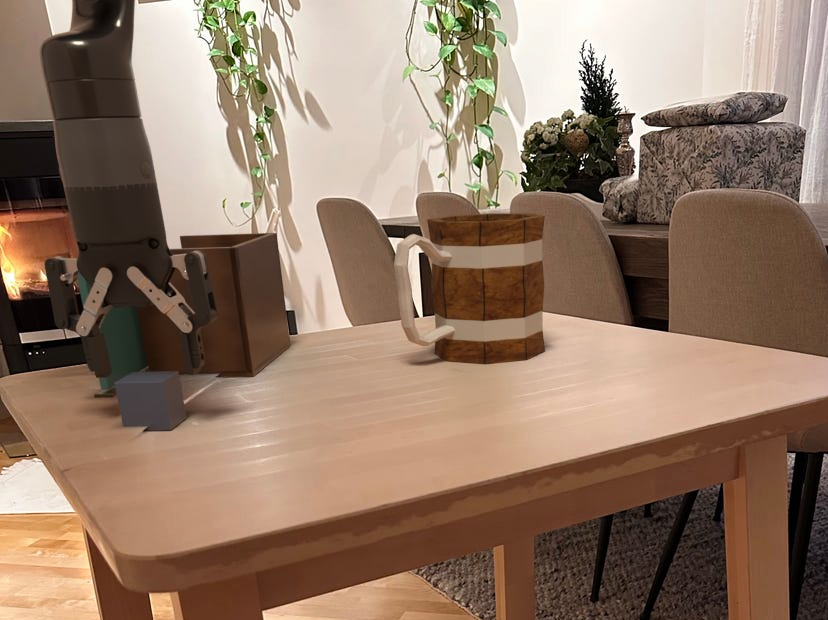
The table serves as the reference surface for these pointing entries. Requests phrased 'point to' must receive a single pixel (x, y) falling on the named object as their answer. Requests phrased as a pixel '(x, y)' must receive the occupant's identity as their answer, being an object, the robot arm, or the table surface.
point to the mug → (479, 287)
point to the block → (151, 400)
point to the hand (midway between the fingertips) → (148, 374)
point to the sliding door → (119, 339)
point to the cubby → (225, 309)
